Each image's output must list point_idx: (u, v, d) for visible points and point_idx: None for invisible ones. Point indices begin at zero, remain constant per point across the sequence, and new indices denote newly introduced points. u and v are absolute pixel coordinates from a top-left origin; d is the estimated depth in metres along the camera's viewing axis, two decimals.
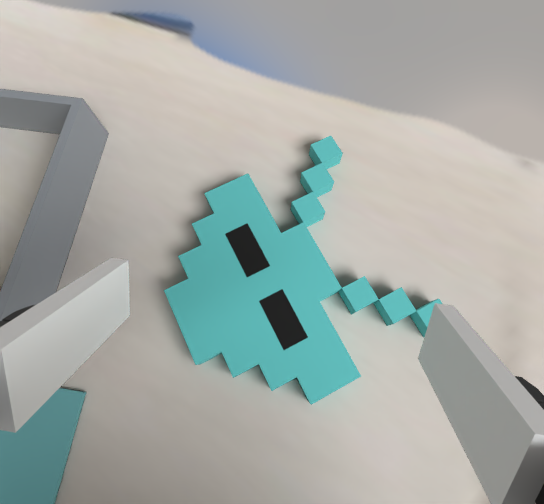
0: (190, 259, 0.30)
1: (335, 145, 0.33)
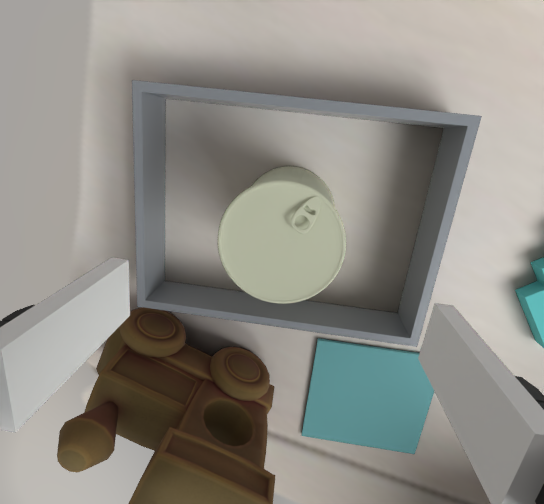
0: None
1: None
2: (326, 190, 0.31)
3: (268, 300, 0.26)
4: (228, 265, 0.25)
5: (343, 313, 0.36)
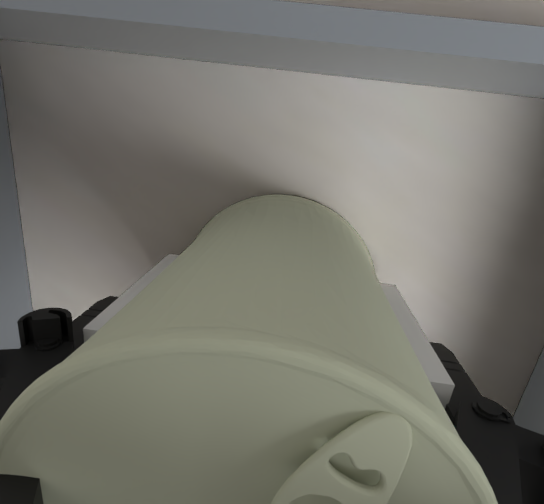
0: None
1: None
2: (366, 259, 0.13)
3: None
4: None
5: None
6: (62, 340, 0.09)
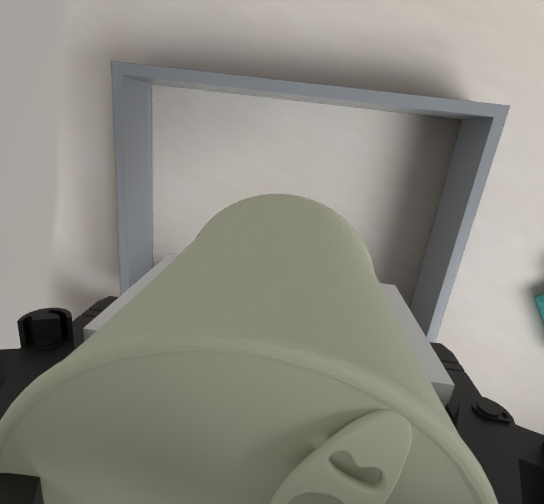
0: None
1: None
2: (366, 258, 0.13)
3: None
4: None
5: None
6: (62, 340, 0.09)
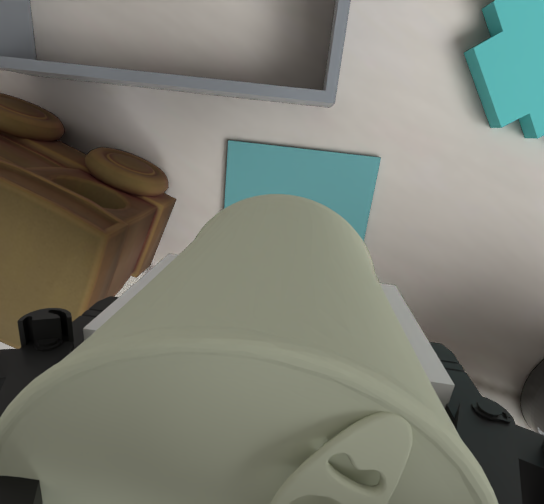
0: (508, 5, 0.26)
1: None
2: (366, 258, 0.13)
3: None
4: None
5: None
6: (62, 340, 0.09)
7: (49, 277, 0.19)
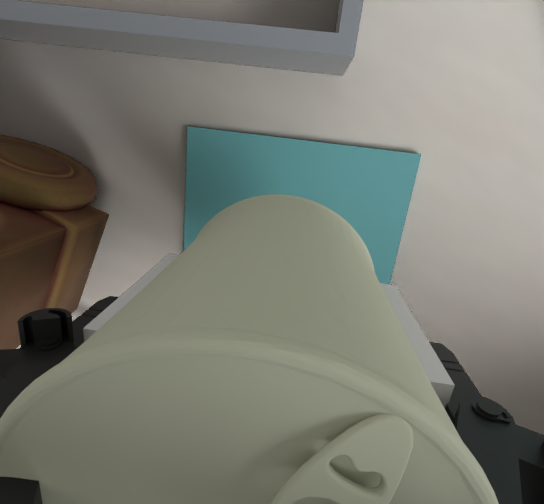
0: None
1: None
2: (366, 258, 0.13)
3: None
4: None
5: None
6: (62, 340, 0.09)
7: None
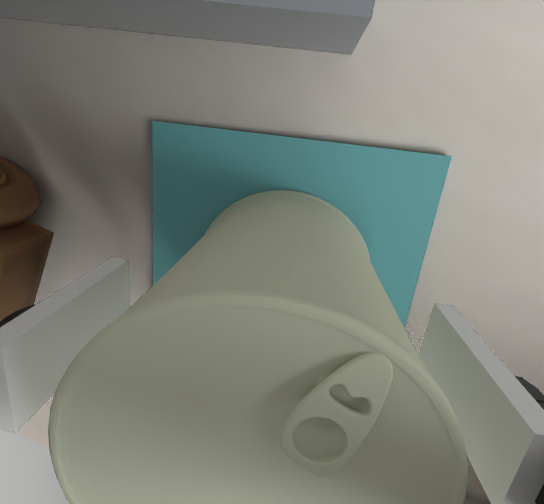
0: None
1: None
2: (362, 248, 0.14)
3: None
4: None
5: None
6: None
7: None
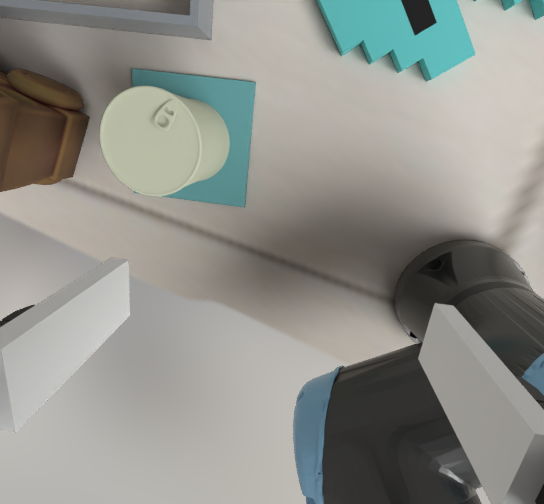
0: None
1: None
2: (213, 115, 0.37)
3: (145, 193, 0.31)
4: (110, 162, 0.31)
5: None
6: None
7: None
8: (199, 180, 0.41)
